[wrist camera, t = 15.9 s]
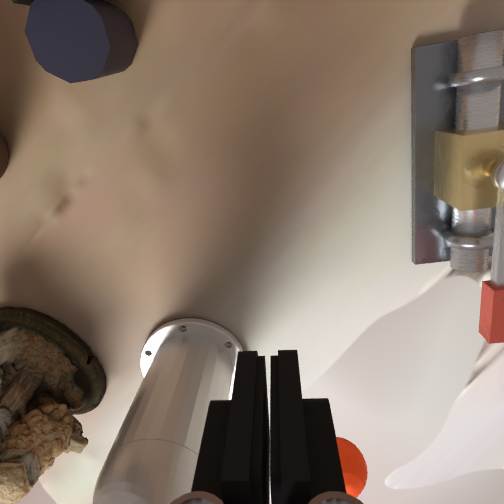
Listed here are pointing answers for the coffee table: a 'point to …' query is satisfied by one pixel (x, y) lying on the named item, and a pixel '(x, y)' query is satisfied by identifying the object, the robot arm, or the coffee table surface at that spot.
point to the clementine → (352, 467)
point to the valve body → (456, 149)
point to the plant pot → (3, 156)
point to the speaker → (80, 38)
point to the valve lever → (495, 270)
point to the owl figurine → (41, 396)
